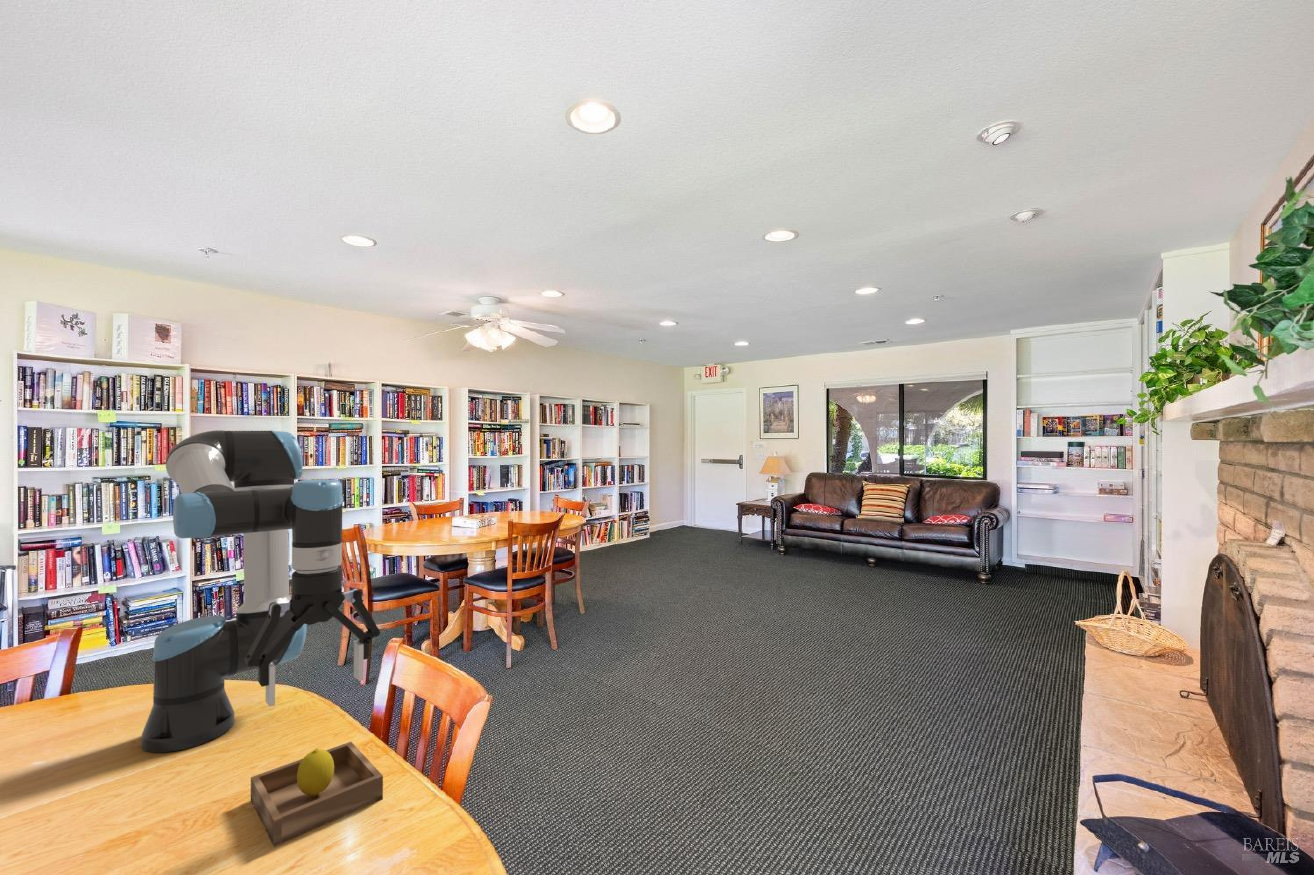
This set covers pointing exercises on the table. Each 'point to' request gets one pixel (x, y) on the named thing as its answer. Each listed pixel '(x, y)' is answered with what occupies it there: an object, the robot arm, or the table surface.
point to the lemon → (315, 772)
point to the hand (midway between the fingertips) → (316, 690)
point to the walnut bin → (301, 813)
